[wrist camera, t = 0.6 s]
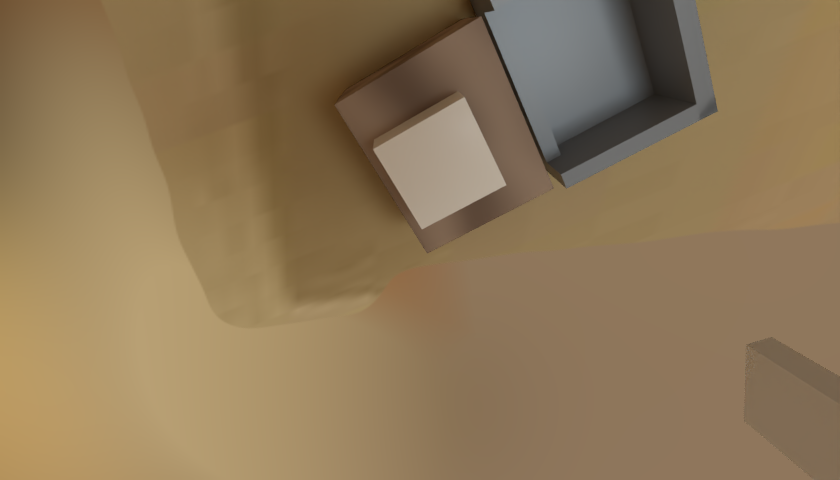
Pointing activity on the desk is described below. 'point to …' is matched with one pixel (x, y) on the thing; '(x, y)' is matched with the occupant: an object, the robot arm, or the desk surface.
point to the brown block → (431, 83)
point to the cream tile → (439, 160)
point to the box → (600, 75)
